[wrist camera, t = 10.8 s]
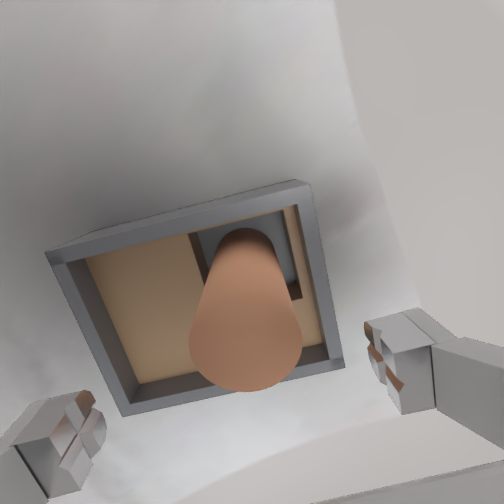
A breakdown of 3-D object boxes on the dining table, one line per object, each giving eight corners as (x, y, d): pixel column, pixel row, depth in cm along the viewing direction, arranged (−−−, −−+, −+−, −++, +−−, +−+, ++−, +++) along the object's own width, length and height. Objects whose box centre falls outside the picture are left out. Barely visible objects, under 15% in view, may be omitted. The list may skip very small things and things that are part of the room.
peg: (224, 290, 21) (207, 401, 11) (208, 235, 20) (172, 308, 10) (281, 276, 20) (311, 379, 11) (267, 221, 19) (289, 281, 10)
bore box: (148, 365, 23) (122, 417, 18) (92, 231, 20) (44, 252, 15) (324, 324, 22) (345, 367, 18) (294, 179, 19) (310, 184, 15)
